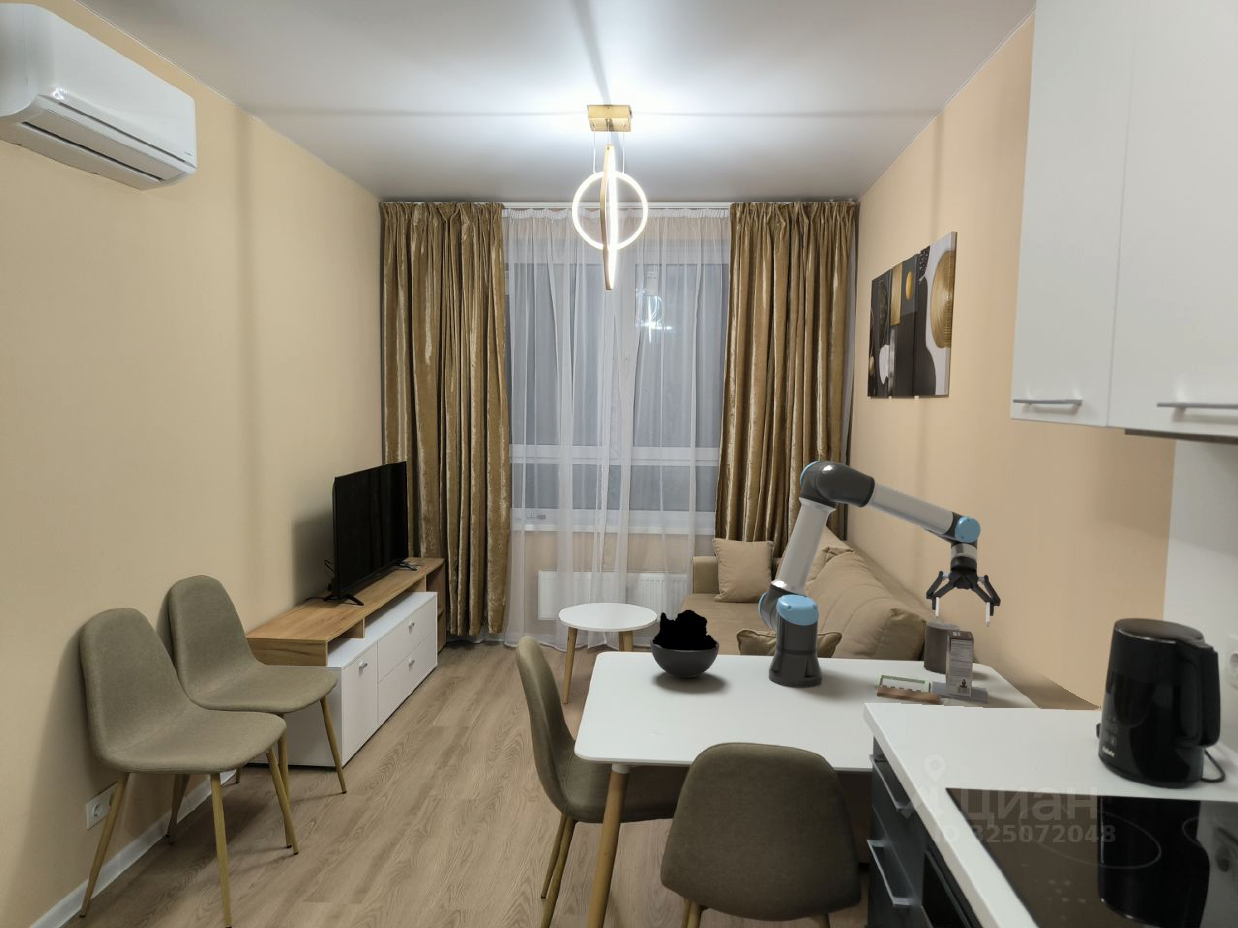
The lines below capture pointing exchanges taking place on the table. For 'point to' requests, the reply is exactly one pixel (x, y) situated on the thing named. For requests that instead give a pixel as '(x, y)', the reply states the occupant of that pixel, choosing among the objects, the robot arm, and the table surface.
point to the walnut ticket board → (908, 695)
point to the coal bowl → (684, 645)
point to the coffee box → (959, 662)
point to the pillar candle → (937, 645)
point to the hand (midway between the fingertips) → (962, 621)
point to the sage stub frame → (902, 679)
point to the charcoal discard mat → (976, 695)
